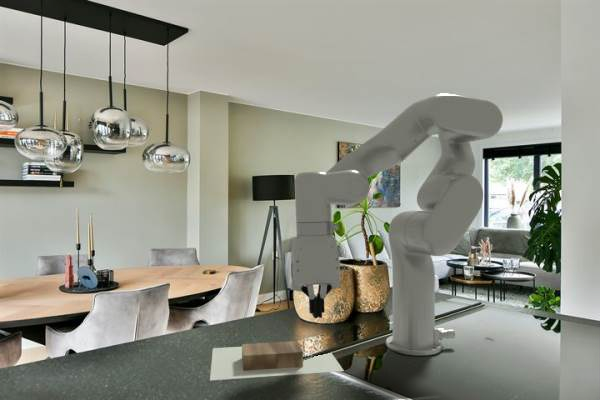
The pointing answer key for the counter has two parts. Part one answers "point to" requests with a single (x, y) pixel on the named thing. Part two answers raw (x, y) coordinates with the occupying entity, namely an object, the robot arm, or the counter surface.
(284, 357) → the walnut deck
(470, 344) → the counter surface
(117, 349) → the counter surface
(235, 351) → the mat
